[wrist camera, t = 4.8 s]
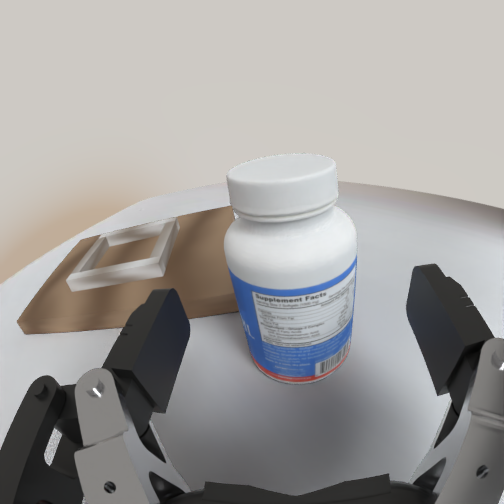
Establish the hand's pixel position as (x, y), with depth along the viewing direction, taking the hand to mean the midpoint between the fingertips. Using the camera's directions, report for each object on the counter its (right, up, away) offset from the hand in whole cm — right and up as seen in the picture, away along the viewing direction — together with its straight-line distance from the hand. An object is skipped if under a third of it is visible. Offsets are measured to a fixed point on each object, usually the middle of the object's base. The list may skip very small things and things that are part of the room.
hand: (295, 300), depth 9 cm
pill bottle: (+1, -4, +6) cm, 7 cm away
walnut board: (-13, 0, +16) cm, 20 cm away
